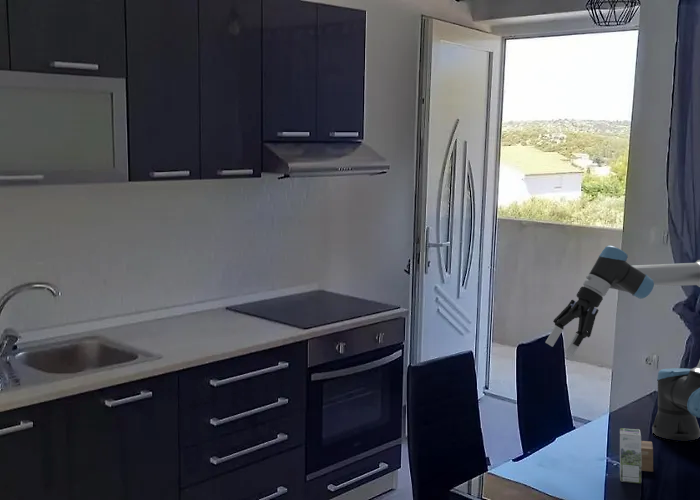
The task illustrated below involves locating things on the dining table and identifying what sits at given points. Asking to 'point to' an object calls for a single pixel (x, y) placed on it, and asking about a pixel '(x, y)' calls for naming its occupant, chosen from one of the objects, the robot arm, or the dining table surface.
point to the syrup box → (630, 455)
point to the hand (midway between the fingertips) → (558, 349)
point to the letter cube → (646, 456)
